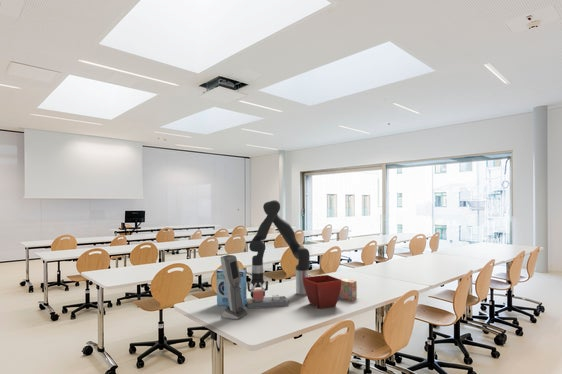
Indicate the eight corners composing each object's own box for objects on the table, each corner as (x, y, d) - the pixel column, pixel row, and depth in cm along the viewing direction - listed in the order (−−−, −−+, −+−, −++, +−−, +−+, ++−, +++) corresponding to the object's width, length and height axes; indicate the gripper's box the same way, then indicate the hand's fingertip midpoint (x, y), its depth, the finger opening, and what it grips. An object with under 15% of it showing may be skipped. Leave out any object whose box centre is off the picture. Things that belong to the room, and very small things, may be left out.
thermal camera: (229, 311, 210) (228, 254, 211) (247, 313, 205) (247, 255, 207) (218, 317, 199) (218, 257, 201) (238, 320, 194) (237, 258, 196)
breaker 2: (278, 298, 227) (278, 294, 227) (279, 300, 222) (279, 296, 222) (272, 298, 227) (272, 295, 227) (273, 301, 222) (273, 297, 222)
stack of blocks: (325, 295, 243) (325, 278, 244) (330, 293, 248) (330, 276, 249) (352, 300, 229) (352, 282, 230) (357, 298, 234) (356, 280, 235)
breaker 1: (260, 301, 225) (260, 298, 225) (261, 303, 220) (261, 300, 220) (254, 302, 224) (254, 298, 225) (255, 304, 219) (255, 300, 220)
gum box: (246, 305, 222) (246, 270, 223) (243, 307, 217) (243, 271, 218) (220, 303, 228) (219, 268, 229) (216, 305, 223) (216, 270, 224)
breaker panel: (284, 300, 231) (284, 294, 232) (288, 305, 220) (288, 299, 220) (246, 303, 227) (246, 297, 227) (247, 308, 215) (247, 302, 215)
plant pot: (302, 302, 226) (302, 277, 226) (327, 299, 233) (326, 274, 234) (316, 311, 208) (316, 283, 209) (343, 307, 215) (342, 280, 216)
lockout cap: (262, 296, 227) (262, 288, 227) (263, 299, 219) (263, 292, 219) (252, 297, 226) (252, 289, 226) (253, 300, 218) (253, 292, 218)
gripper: (267, 270, 228) (267, 295, 227) (246, 271, 226) (246, 296, 225) (269, 272, 221) (269, 298, 220) (247, 273, 218) (247, 299, 218)
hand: (257, 297), depth 222 cm, fingers closed on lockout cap, 6 cm apart
